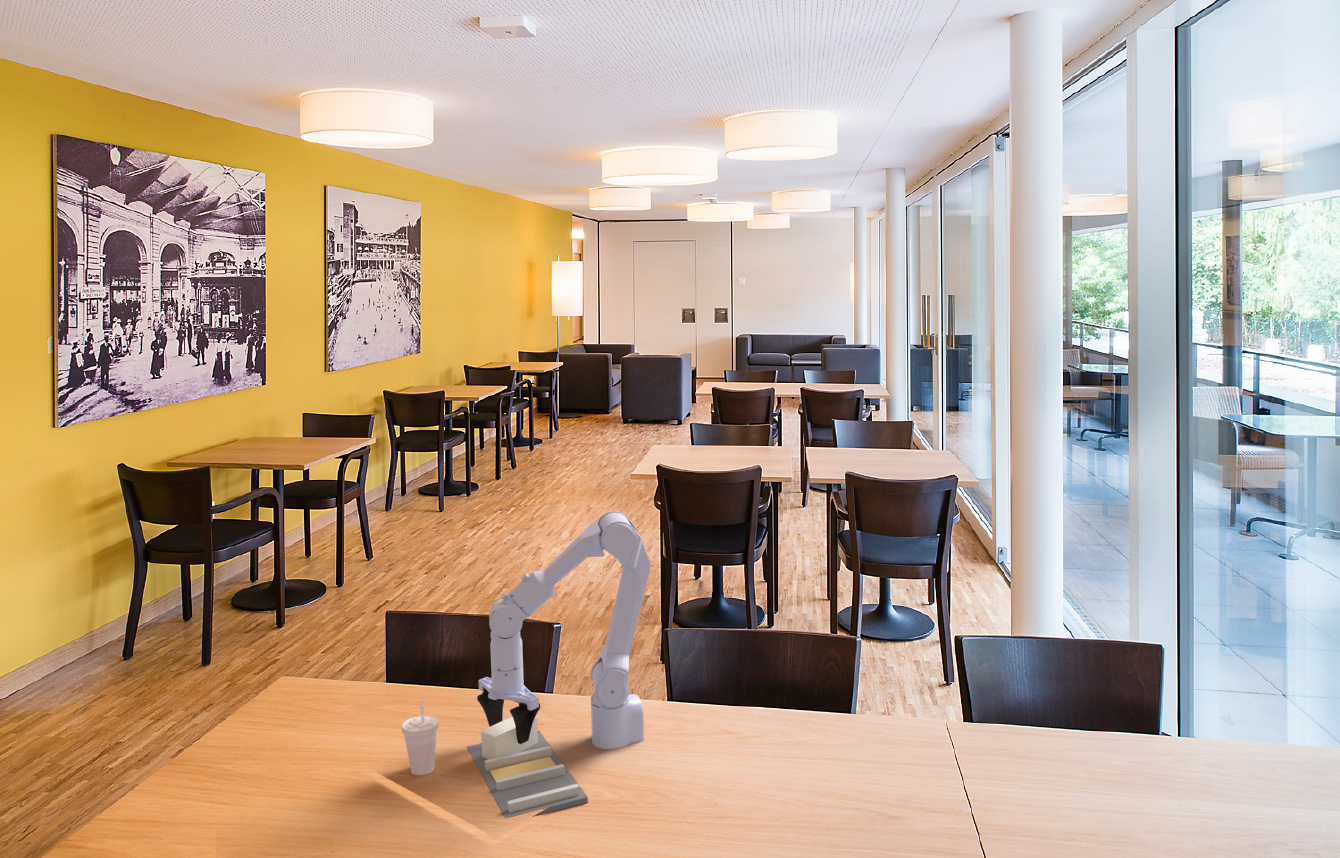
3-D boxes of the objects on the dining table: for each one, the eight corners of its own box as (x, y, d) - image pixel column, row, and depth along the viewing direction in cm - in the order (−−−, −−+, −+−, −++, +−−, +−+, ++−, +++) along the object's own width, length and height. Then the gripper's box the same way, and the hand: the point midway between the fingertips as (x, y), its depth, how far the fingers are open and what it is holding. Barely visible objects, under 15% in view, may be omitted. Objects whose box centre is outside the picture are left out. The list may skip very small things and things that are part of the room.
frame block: (523, 736, 173) (522, 711, 173) (538, 742, 171) (537, 717, 170) (482, 756, 166) (481, 730, 165) (496, 763, 163) (495, 737, 163)
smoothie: (431, 785, 158) (427, 709, 156) (397, 782, 159) (393, 706, 157) (447, 767, 164) (443, 693, 162) (414, 764, 165) (410, 691, 164)
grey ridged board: (539, 735, 176) (538, 723, 176) (587, 802, 152) (587, 788, 151) (467, 751, 170) (466, 738, 170) (505, 824, 146) (505, 809, 145)
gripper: (464, 662, 168) (467, 732, 170) (516, 682, 159) (519, 756, 160) (494, 651, 173) (496, 719, 175) (546, 669, 164) (548, 741, 166)
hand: (509, 735), depth 168 cm, fingers open, 7 cm apart
